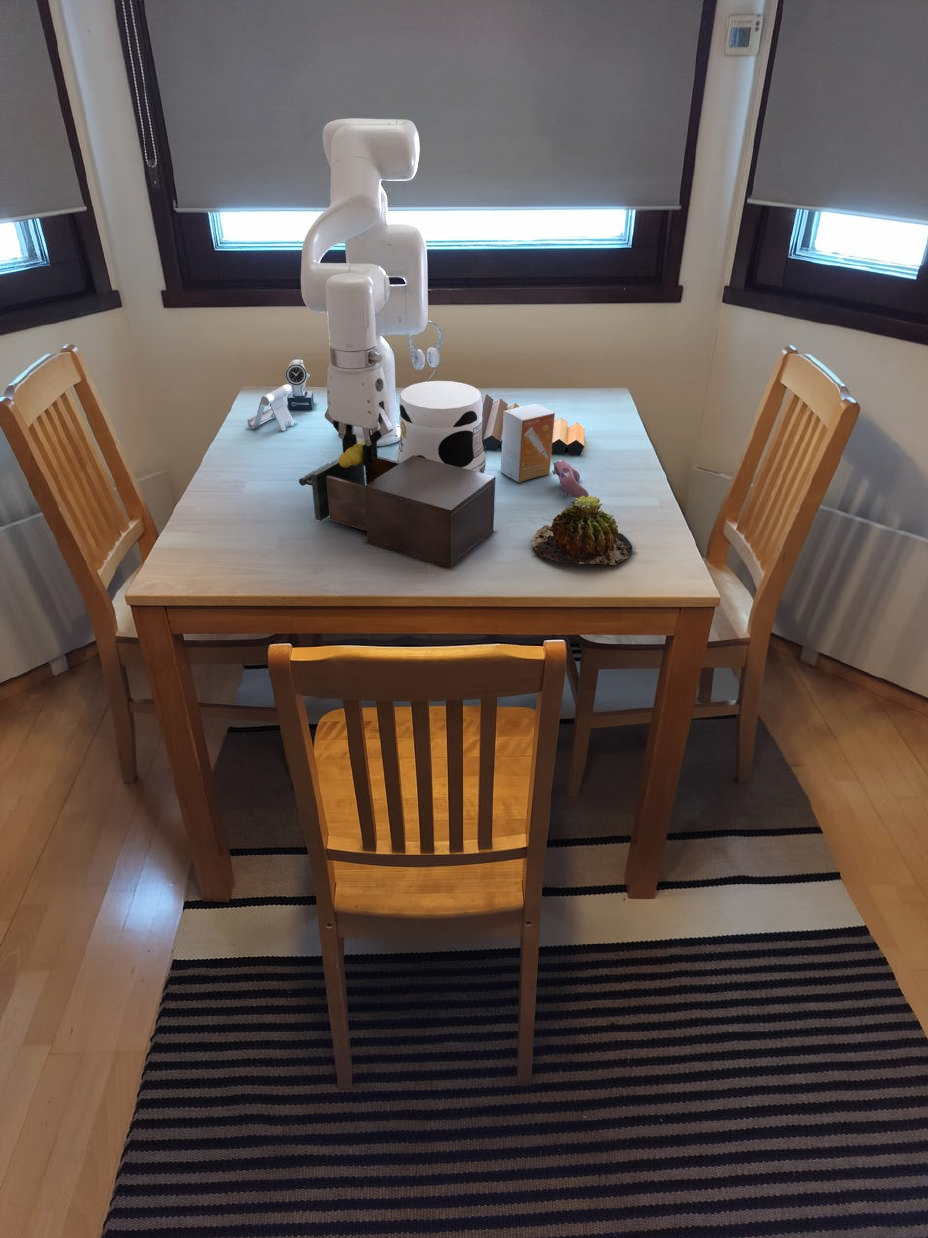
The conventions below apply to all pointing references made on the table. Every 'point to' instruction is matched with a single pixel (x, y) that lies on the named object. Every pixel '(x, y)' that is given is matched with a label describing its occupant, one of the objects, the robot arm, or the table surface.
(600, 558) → the cactus
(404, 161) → the robot arm
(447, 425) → the milk container
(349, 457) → the yellow caterpillar toy
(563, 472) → the video game controller
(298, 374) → the watch
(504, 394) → the table surface
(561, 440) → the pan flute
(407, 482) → the cabinet
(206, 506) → the table surface
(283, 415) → the tablet stand
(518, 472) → the small box
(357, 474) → the drawer
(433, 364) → the headphones
